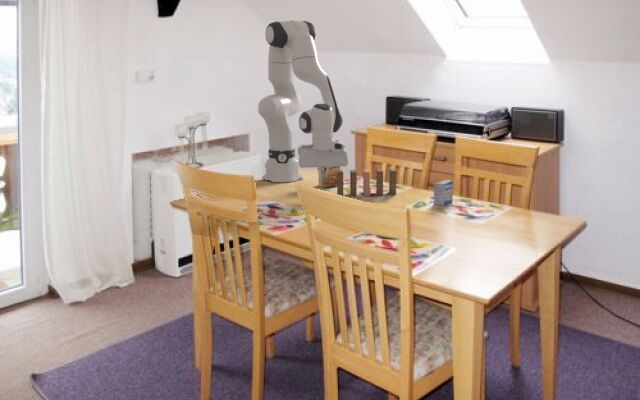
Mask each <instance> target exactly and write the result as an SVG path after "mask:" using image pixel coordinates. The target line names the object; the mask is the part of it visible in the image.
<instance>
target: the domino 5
mask: <svg viewBox="0 0 640 400" xmlns="http://www.w3.org/2000/svg"><path fill="white" fill-rule="evenodd" d="M388 175H389V176H388V177H389V178H388V179H389V181H388V183H389V184H388V185H389V187H388V189H389V191H388V192H389V194H390V195H391V196H394V195H395V196H396V195H397V170H396V169H395V168H389V173H388Z"/></svg>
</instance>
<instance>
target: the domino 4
mask: <svg viewBox="0 0 640 400" xmlns="http://www.w3.org/2000/svg"><path fill="white" fill-rule="evenodd" d="M375 174H376V177H375V180H376V189H375V190H376V195H377V196H384V171H383V169H381V168H377V169H376V172H375Z"/></svg>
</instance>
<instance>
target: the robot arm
mask: <svg viewBox="0 0 640 400" xmlns="http://www.w3.org/2000/svg"><path fill="white" fill-rule="evenodd" d="M316 35H317V33H316V28H315V25H314V24H313V23H312V22H310V21H308V20H307V21H306V20H284V21H278V20H277V21H273V22H270V23H269V24H268V25H267V27H266V29H265V40H266V42H267V43H268V45H269V46H268V47H269V48H268V55H267V56H268V60H267V61H268V64H267V65H268V66H267V71H268V73H267V75H268V76H267V77H268V81H269V82H270V83H271V84H272V87H273V91H274V93H273V94H269V95H267V96H265V97H264V98H262V99H261V100H259V103H258V106H257V109H258V110H257V111H258V113H259V116H260V117H262V119H263V121H264V122H265V124H266V126H267V130H268V144H269V147H268V152H267V154H268V159H267V160H266V161H265V163H264V169H265V170H264V171H265V173H264V175H263V176H261V181H266V180H270V181H269V182H271V181H272V182H273V183H292V182H295V181H298V180H303V179H304V176H303V175H302V174H301V173H300V170H299V169H300V168H301V169H302V168H303V169H306V168H307V169H308V168H316V169H317V171H319V173H320V178H327V173H328V172H329V170H330V167H340V168H341V167H347V166H348V165H349V159H348V158H349V157H348V153H347V151H346V149H345V147H346V144H345V143H344V141H341V140H338V139H335V136H334V133H337V132H338V131H339V130H340V128H342V126H343V117H342V114H341V113H342V112H341V111H340V109H339V106H338V103H337V101H336V100H337V99H336V97H335V94H334V90H333V86H332V83H331V80H330V77H329V75H328V73H327V72H326V71H325V70H324V69H323V68H322V67H321V65H320V62H319V57H318V53H317V47H316V44H315V40H316ZM294 75H295V77H296V78H297V79H298V80H300V81H302V82H304V83H307V84H310V85H313V86H315V87H316V88H317V89H318V90H319V91H320V95H321V98H322V101H323V103H316V104H314V105H313V106H312V108H311V109H309V110H306V111H303V112H302V113H301V114H300V116H299V118H298V119H299V120H298V125H299V128H300V130H301V131H302V132H303V133H304V134H308V135H309V134H311V135H312V136H311V142H312V143H311V144H301V145H300V146H299V147H298V148H297V154H298V157H299V158H298V159H297V158H296V149H295V138H294V130H293V129H292V128H291V126H290V125H289V122H288V118H289V117H292V116H294V115H296V114H297V113H300V112H301V110H302V107H303V100H302V98H301V96H300V95H299V93H298V92H297V89H296V85H295V80H294ZM299 167H300V168H299ZM321 167H326V169H327V170H326V172H325V173H321V171H320V170H321ZM319 169H320V170H319ZM264 179H265V180H264Z"/></svg>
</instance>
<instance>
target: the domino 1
mask: <svg viewBox="0 0 640 400" xmlns="http://www.w3.org/2000/svg"><path fill="white" fill-rule="evenodd" d="M336 187H337V188H336V190H337V191H336V193H337V194H336V195H338V194H339V195H342V196H343V197H344V171H343V170H342V169H340V170H337V186H336Z"/></svg>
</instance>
